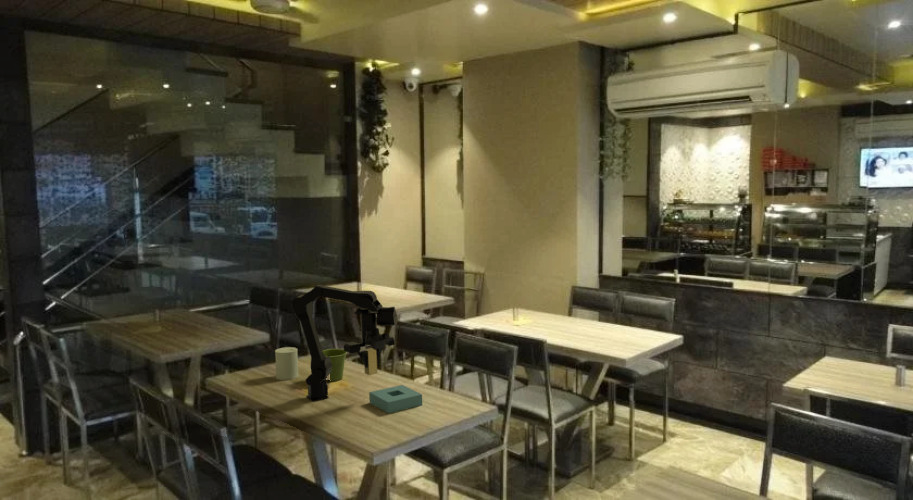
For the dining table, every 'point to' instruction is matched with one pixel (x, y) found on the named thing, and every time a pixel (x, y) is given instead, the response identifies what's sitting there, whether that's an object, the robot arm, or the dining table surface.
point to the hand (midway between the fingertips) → (370, 366)
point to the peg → (371, 362)
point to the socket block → (395, 398)
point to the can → (286, 363)
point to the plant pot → (336, 362)
